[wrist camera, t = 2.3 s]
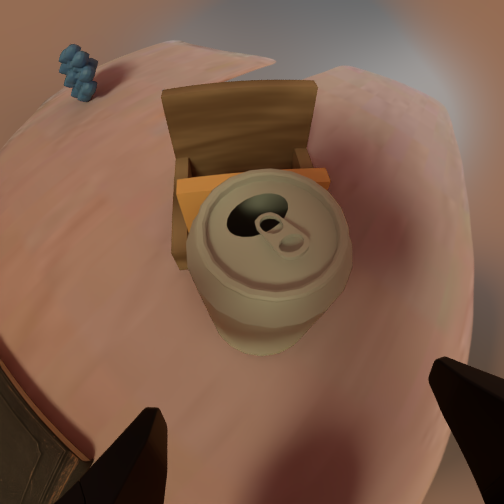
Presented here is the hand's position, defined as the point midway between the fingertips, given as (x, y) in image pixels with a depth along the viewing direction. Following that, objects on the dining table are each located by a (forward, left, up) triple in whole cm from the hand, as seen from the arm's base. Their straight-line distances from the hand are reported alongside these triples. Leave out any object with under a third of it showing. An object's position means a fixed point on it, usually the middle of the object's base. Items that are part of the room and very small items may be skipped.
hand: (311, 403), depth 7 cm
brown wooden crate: (+16, 0, -12) cm, 20 cm away
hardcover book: (-10, +28, -13) cm, 33 cm away
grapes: (+45, +24, -13) cm, 52 cm away
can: (+7, 0, -13) cm, 14 cm away
